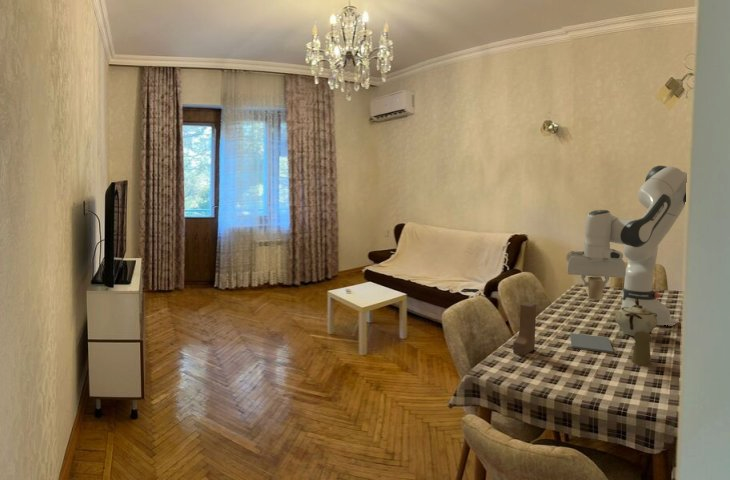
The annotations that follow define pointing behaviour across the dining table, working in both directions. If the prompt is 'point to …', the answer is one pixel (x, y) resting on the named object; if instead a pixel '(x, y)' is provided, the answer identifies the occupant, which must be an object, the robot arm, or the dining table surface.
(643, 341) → the olive peg figure
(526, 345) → the wooden block
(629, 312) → the sugar bowl
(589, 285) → the pine block
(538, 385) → the dining table surface
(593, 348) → the grey mat
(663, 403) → the dining table surface
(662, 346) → the dining table surface
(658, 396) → the dining table surface
